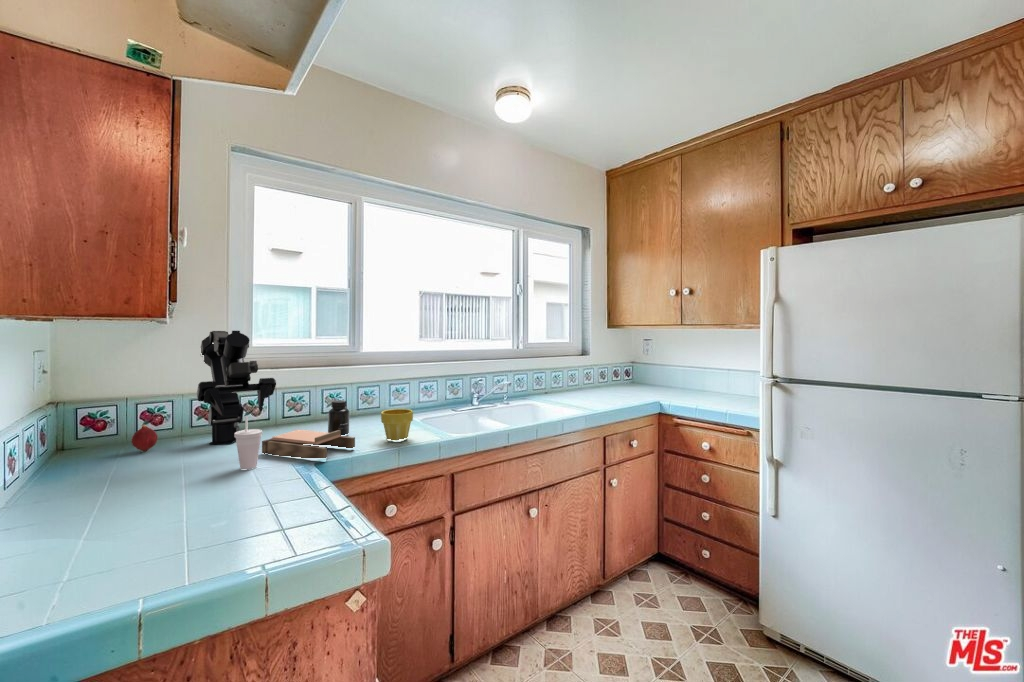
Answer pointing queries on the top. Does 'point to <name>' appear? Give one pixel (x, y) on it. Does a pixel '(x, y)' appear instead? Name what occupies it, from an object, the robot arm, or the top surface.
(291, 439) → the trapdoor
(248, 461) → the smoothie
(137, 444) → the onion
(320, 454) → the frame
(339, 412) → the supplement bottle
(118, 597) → the top surface
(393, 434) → the plant pot
